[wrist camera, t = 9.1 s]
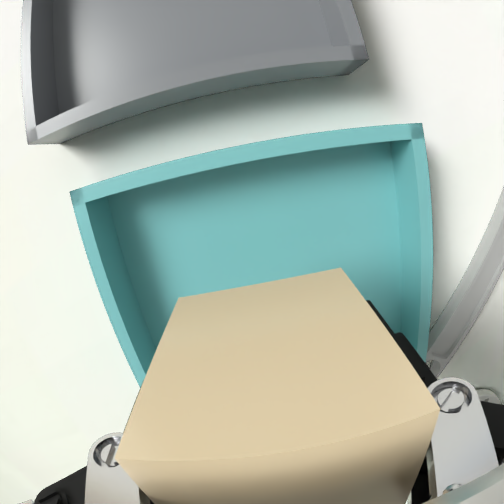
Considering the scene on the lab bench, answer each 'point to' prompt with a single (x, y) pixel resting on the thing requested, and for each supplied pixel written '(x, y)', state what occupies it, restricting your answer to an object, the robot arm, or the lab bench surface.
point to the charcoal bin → (169, 54)
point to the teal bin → (264, 228)
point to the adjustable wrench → (469, 294)
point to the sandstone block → (278, 401)
